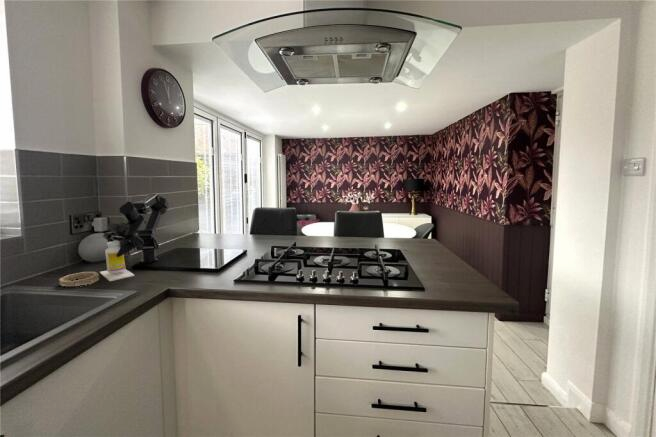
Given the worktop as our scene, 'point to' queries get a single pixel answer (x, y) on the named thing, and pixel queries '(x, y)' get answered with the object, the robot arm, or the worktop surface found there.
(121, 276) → the pad
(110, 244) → the supplement bottle
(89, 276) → the ring holder
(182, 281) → the worktop surface
